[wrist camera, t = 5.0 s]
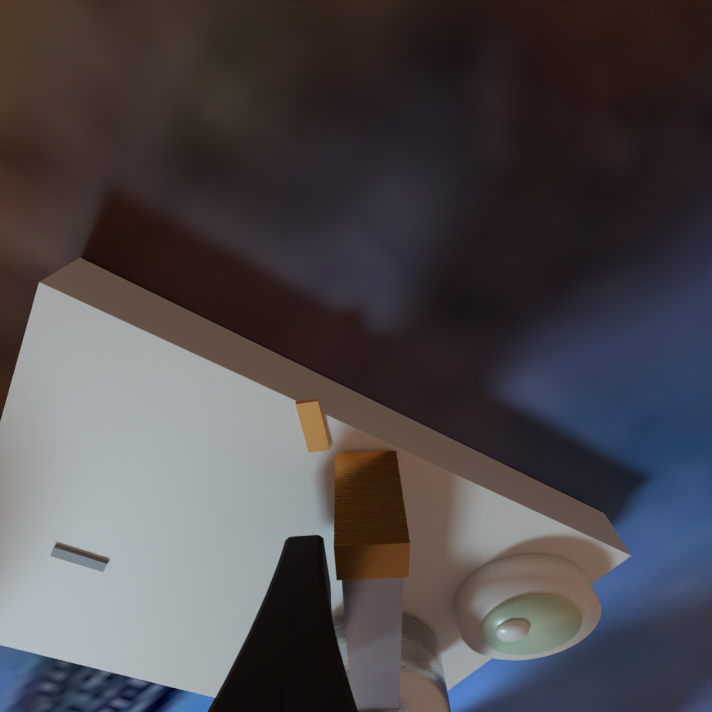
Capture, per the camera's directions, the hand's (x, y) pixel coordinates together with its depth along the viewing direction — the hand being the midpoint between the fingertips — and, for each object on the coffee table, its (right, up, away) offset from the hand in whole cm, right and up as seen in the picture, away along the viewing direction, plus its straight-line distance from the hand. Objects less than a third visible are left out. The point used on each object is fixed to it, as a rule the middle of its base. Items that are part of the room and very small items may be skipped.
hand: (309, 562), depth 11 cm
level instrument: (+6, -2, +3) cm, 7 cm away
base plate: (-1, -1, +4) cm, 4 cm away
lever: (+2, -2, +2) cm, 3 cm away
